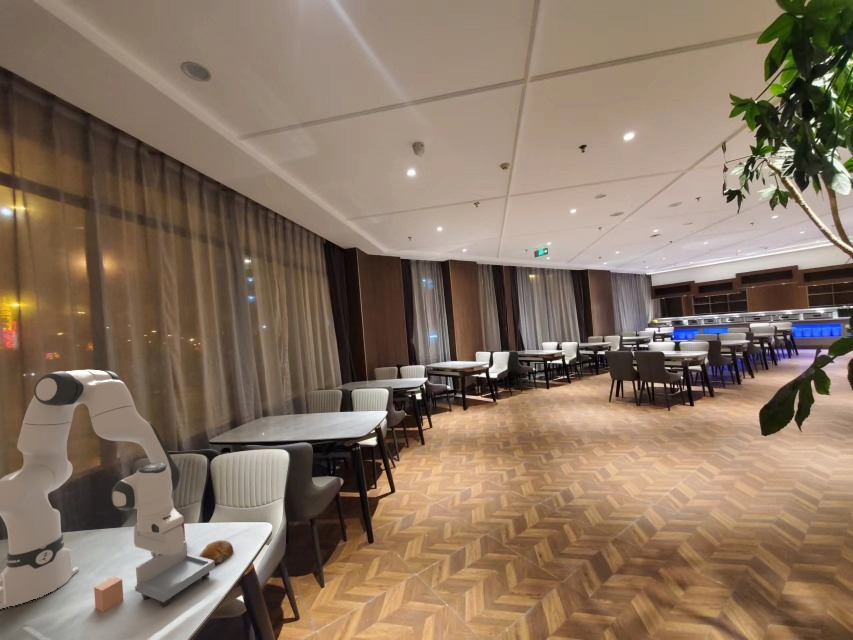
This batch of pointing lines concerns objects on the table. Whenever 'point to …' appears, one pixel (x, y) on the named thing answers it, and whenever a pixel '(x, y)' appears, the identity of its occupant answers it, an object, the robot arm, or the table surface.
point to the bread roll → (217, 551)
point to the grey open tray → (170, 574)
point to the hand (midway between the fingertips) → (159, 564)
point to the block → (108, 593)
